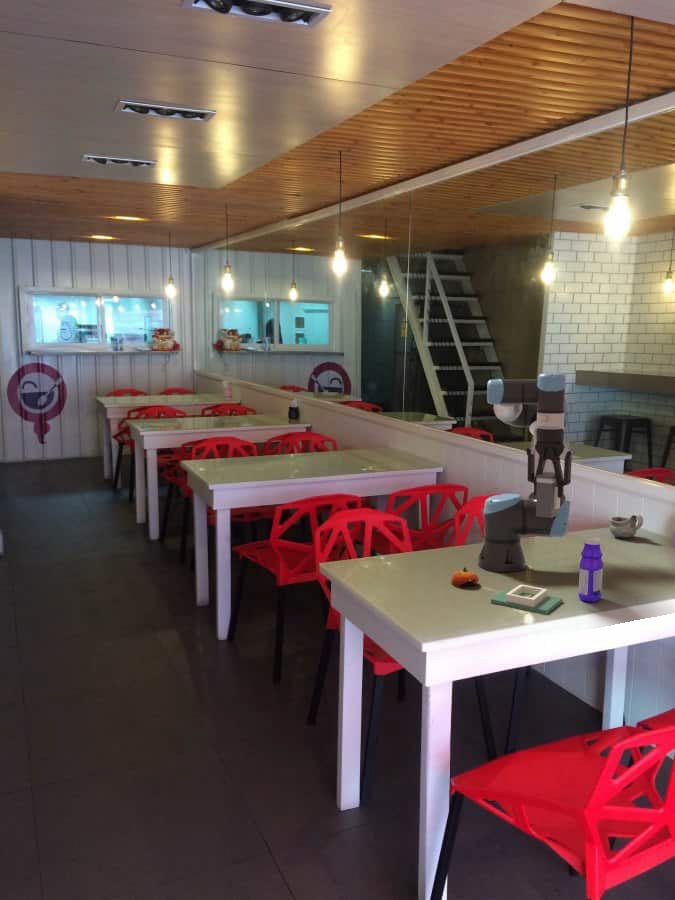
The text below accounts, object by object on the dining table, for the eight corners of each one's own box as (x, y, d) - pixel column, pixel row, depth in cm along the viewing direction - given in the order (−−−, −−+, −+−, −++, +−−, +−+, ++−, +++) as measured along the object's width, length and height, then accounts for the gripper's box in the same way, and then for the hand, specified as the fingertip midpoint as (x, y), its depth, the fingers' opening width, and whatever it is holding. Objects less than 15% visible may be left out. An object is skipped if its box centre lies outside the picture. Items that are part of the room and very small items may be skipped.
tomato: (485, 578, 219) (475, 564, 216) (478, 597, 216) (467, 583, 212) (463, 577, 225) (452, 563, 221) (456, 596, 221) (444, 582, 217)
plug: (535, 516, 210) (536, 475, 209) (545, 511, 216) (546, 471, 215) (551, 518, 207) (552, 476, 206) (560, 513, 214) (561, 472, 212)
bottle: (584, 593, 209) (586, 534, 207) (604, 597, 205) (607, 537, 203) (575, 600, 203) (577, 539, 201) (595, 604, 200) (597, 543, 198)
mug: (617, 532, 278) (618, 507, 277) (649, 539, 269) (650, 512, 268) (604, 537, 272) (605, 511, 271) (636, 543, 263) (637, 516, 261)
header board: (490, 602, 202) (491, 592, 202) (508, 591, 212) (508, 581, 212) (546, 614, 193) (547, 603, 193) (562, 601, 203) (562, 591, 202)
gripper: (515, 427, 210) (514, 506, 214) (576, 430, 200) (574, 513, 203) (525, 424, 216) (524, 501, 220) (585, 427, 206) (582, 508, 209)
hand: (548, 507), depth 211 cm, fingers closed on plug, 4 cm apart
